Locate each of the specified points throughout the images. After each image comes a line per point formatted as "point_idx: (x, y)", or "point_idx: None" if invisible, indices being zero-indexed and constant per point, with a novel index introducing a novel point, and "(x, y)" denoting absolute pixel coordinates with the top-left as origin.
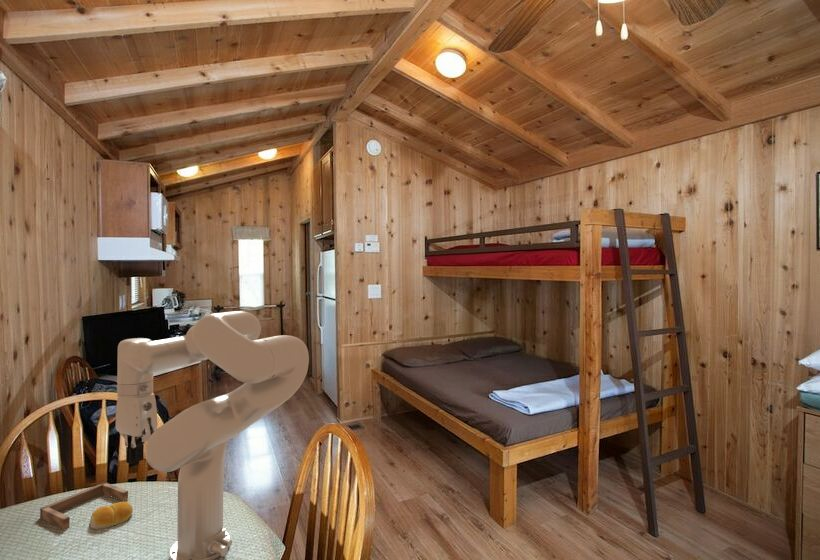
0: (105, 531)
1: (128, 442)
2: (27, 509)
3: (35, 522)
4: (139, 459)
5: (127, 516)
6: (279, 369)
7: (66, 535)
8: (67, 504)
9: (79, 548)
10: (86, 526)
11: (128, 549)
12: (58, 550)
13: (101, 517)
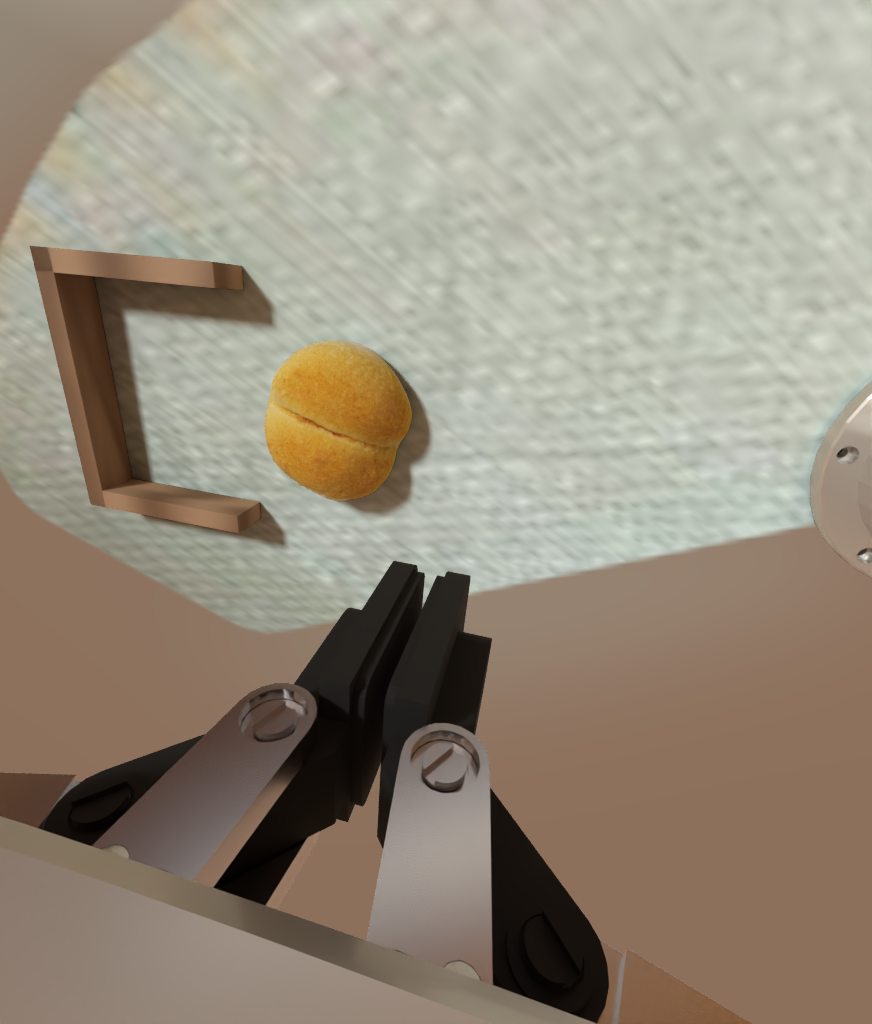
0: (404, 486)
1: (301, 866)
2: (30, 467)
3: None
4: (463, 616)
5: (408, 407)
6: None
7: (306, 539)
8: (107, 422)
9: None
10: None
11: (600, 545)
12: None
13: (351, 489)
